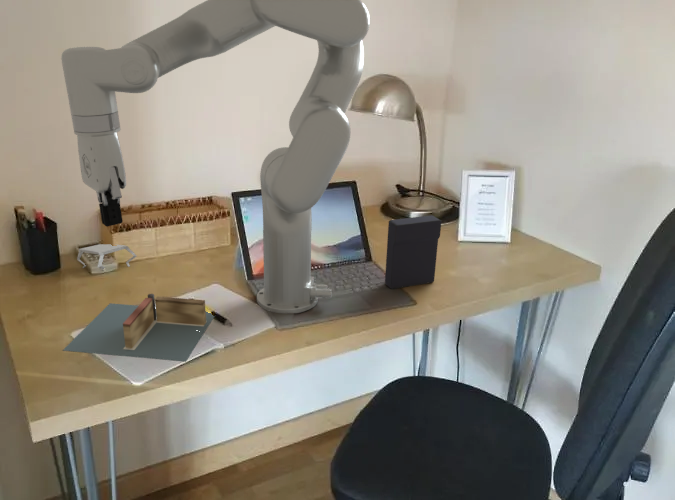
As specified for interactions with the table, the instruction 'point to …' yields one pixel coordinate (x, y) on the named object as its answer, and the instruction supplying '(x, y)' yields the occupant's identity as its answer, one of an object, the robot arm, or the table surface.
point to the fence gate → (138, 322)
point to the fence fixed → (179, 310)
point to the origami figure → (103, 252)
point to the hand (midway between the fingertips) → (112, 223)
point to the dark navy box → (412, 251)
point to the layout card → (154, 343)
